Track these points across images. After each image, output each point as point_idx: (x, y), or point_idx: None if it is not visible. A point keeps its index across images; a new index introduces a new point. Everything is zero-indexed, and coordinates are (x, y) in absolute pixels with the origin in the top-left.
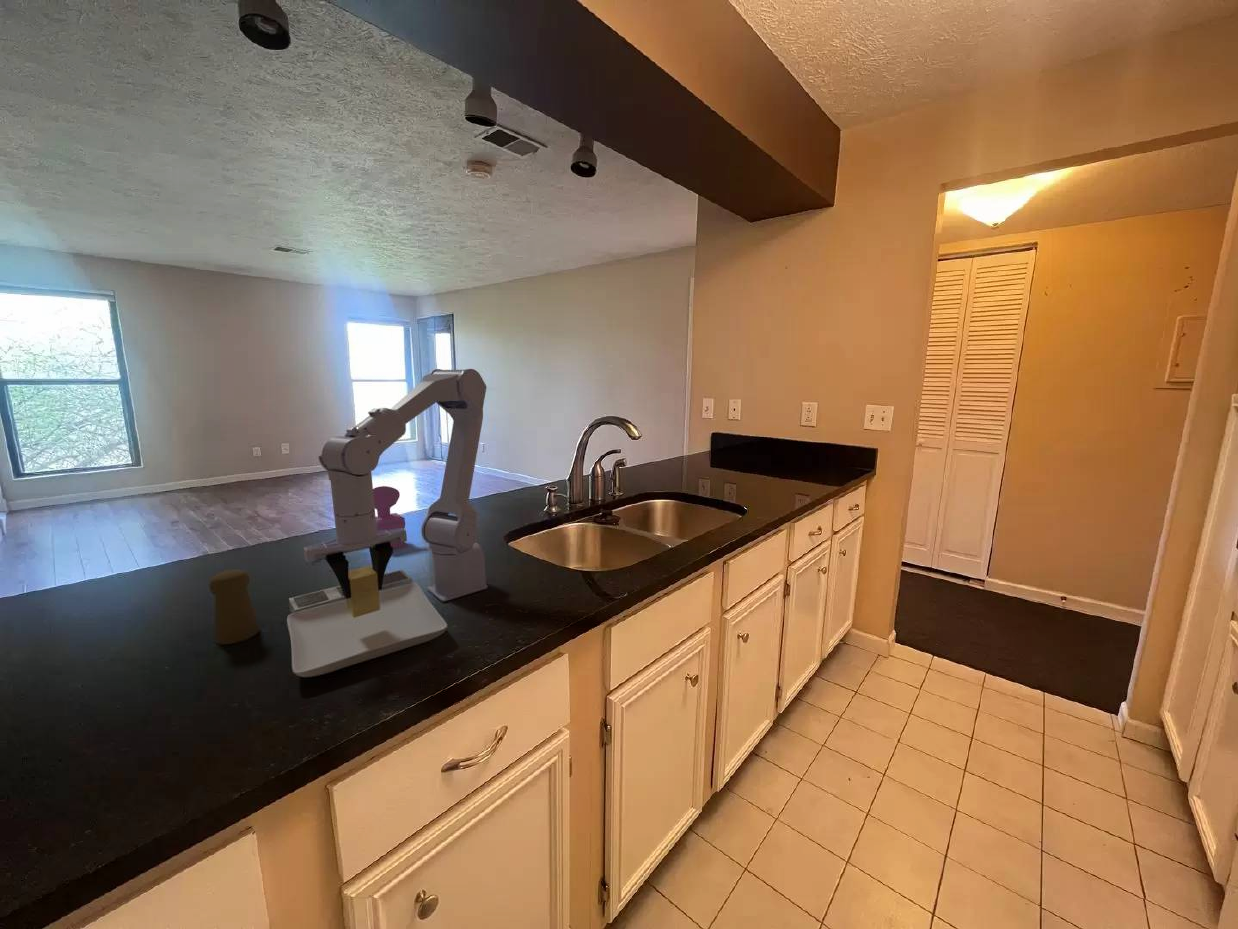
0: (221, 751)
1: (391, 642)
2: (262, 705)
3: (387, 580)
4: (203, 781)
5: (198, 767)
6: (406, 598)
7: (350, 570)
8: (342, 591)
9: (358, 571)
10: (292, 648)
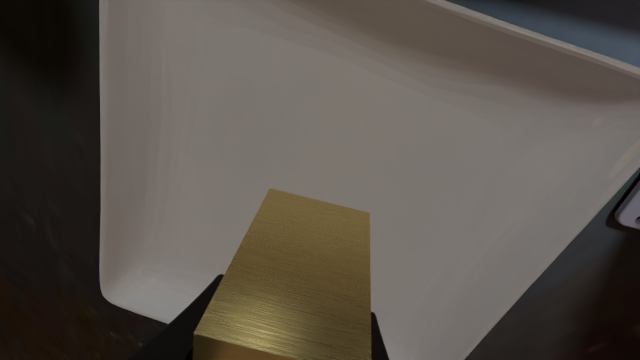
0: (29, 308)
1: None
2: (74, 260)
3: None
4: (19, 337)
5: (7, 313)
6: (563, 119)
7: (239, 348)
8: (209, 285)
9: None
10: (102, 205)
